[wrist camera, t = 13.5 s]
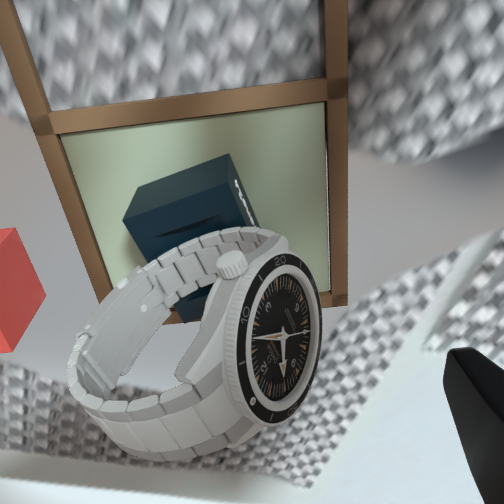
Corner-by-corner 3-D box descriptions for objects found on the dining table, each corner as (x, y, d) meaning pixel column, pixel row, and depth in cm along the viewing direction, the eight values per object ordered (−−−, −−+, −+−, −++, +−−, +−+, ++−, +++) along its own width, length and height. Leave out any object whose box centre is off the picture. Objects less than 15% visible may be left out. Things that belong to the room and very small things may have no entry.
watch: (310, 242, 21) (368, 454, 12) (158, 292, 22) (102, 517, 13) (272, 134, 18) (307, 299, 9) (101, 198, 20) (-23, 400, 10)
